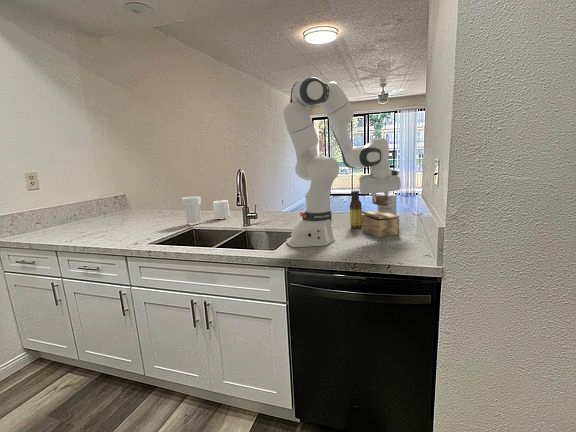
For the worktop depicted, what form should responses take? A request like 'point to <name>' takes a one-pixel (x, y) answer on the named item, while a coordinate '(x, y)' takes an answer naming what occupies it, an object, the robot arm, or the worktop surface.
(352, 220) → the sauce bottle
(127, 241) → the worktop surface
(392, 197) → the supplement box
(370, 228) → the bread box
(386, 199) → the walnut batten
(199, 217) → the cup
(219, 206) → the white tapered cylinder
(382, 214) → the lid
